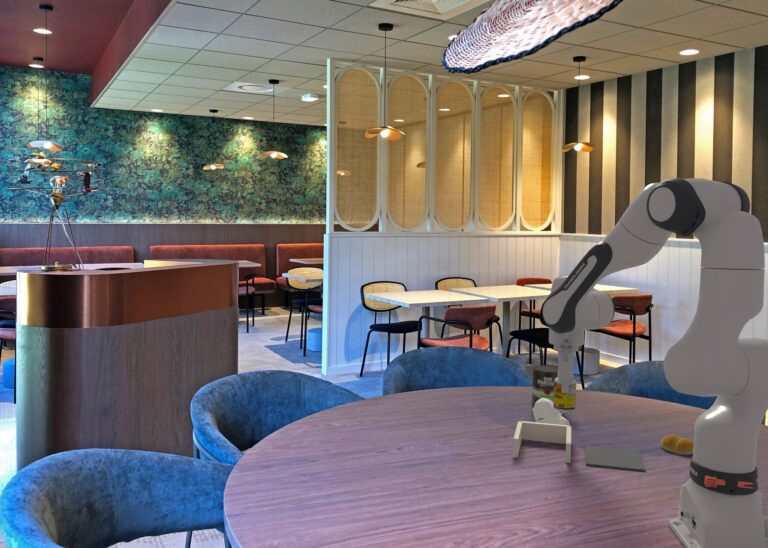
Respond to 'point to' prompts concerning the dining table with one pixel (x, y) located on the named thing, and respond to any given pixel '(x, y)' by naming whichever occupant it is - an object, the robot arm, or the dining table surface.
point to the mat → (614, 458)
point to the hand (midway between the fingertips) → (565, 389)
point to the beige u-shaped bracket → (542, 435)
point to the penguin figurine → (547, 413)
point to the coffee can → (543, 383)
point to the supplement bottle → (564, 396)
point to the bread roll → (677, 444)
